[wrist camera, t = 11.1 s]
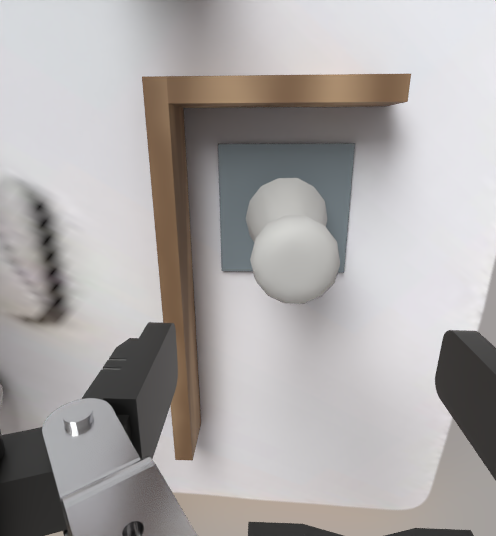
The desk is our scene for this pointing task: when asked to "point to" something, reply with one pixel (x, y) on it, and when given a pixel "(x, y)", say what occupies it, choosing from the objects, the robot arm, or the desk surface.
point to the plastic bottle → (1, 395)
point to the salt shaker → (291, 241)
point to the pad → (273, 167)
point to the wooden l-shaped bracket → (176, 188)
